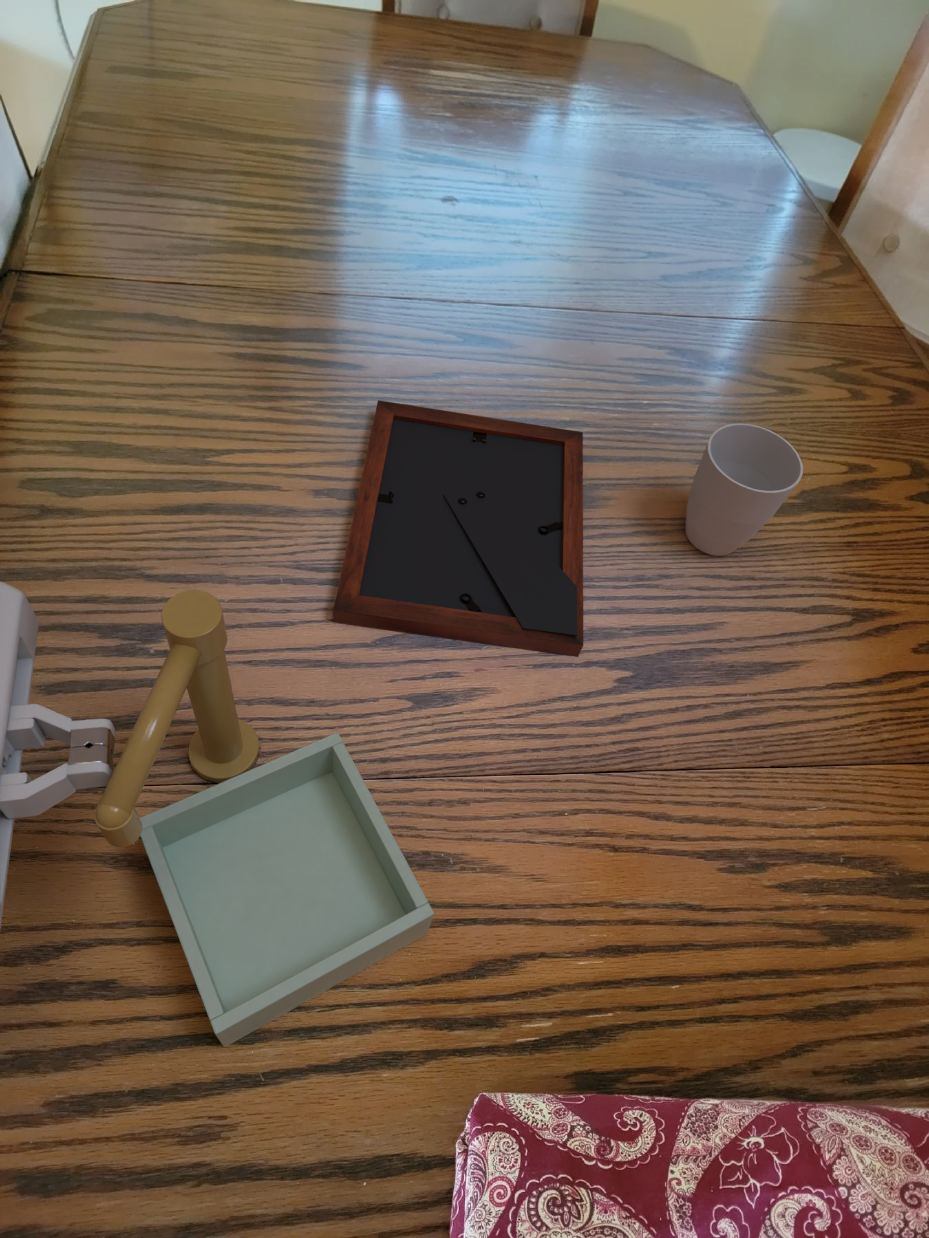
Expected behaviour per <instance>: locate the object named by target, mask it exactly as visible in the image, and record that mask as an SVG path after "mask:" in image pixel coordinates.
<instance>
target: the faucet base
mask: <svg viewBox="0 0 929 1238" xmlns="http://www.w3.org/2000/svg"><path fill="white" fill-rule="evenodd" d="M186 690H187V695H188V697H189V702H190V704H191V708H192V711H193V714H194V719H195V722H196V725H197V730H195V732H194V733H193V734H192V736H191V738H190V739H189V740H190V741H189V743H188V749H187V750H188V751H187V753H188V754H187V755H188V758H189V763H190V765H191V767H192V769H193V770H194V772H195V773H196V774H197V775H198V776H199V777H201V778H202V779H204V780H205V781H207V782H212V783H217V784H219V783H222V782H224V781H226V780H229V779H231V778H233V777H236V776H238V775H240V774H243V773H245V772H247V771H249V770H252V769H254V768H255V765H256V763H257V762H258V760H259V757H260V749H261V747H260V741H259V738H258V734H257V732H256V730H255V729H254V727H252V726H251V725H250V723H248V722H246V721H244V720H243V719H240V718H238V713H237V706H236V701H235V697H234V692H233V687H232V682H231V677H230V671H229V666H228V661H227V656H226V650H225V649H224V651H223V652H222V653H221V654H220V655H219V656H218V657H217V658H216V659H214V660H212V661H210V662H208V663H204V664H197V665H196V667H195V670H194V672H193V674H192V676H191V679H190V681H189V683H188V686H187V688H186Z"/></svg>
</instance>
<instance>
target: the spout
mask: <svg viewBox="0 0 929 1238" xmlns="http://www.w3.org/2000/svg"><path fill="white" fill-rule="evenodd" d="M160 618H161V622H162V628H163V631H164V633H165V638H166V640H167V644H168V648H169V651H168V653H167V655H166V657H165V659H164V661H163V664H162V666H161V668H160V670H159V672H158V675H157V676H156V678H155V681H154V682H153V685H152V688H151V689H150V692H149V694H148V696H147V698H146V701H145V702H144V704H143V707H142V708H141V711H140V714H139V716H138V718H137V719H136V722H135V724H134V726H133V728H132V730H131V732H130V735H129V736H128V738H127V742H126V744H125V745H124V748H123V750H122V752H121V754H120V756H119V758H118V761H117V762H116V765H115V767H114V768H113V774H112V776H111V778H110V780H109V782H108V784H107V786H105V789H104V791H103V792H102V795H101V797H100V800H99V801H98V804H97V805H96V807H95V809H94V813H93V819H94V823H95V824H96V825H97V827H98V829H99V830H100V832H101V833H102V835H103V837H104V839H105V840H106V842H107V843H108V844H109V845H111V846H112V847H114V848H125V847H128V846H131V845H133V844H134V843H136V842H137V841H138V840H139V838H141V836H140V835H141V833H142V822H141V820H140V818H141V817H140V815H139V814H138V812H137V809H136V808H135V807H136V805H137V803H138V801H139V798H140V796H141V793H142V791H143V789H144V787H145V784H146V782H147V780H148V777H149V775H150V773H151V770H152V768H153V766H154V763H155V761H156V759H157V756H158V755H159V752H160V750H161V747H162V745H163V743H164V740H165V738H166V736H167V734H168V732H169V729H170V727H171V725H172V722H173V720H174V718H175V716H176V713H177V712H178V708H179V707H180V705H181V702H182V700H183V697H184V696H185V692H186V690H187V686H188V683H189V681H190V679H191V676H192V674H193V672H194V670H195V667H196V665H197V664H204V663H208V662H210V661H212V660H214V659H216V658H217V657H218V656H219V655H220V654H221V653H222V652H223V651H224V650H225V649H226V647H227V645H228V633H227V628H226V622H225V617H224V612H223V607H222V604H221V601H220V600H219V599H217V597H215V596H214V595H213V594H212V593H210V592H207V591H205V590H199V589H190V590H185V591H181V592H178V593H177V594H175V595H173V596H172V597H170V598H168V600H167V601H166V602H165V604H163V606H162V610H161V614H160Z"/></svg>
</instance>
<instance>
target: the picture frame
mask: <svg viewBox="0 0 929 1238" xmlns="http://www.w3.org/2000/svg"><path fill="white" fill-rule="evenodd" d="M368 440H369V441H368V445H367V449H366V453H365V458H364V464H363V468H362V473H361V477H360V482H359V486H358V490H357V491H358V492H357V496H356V501H355V505H354V509H353V514H352V519H351V524H350V528H349V534H348V538H347V543H346V547H345V552H344V556H343V562H342V566H341V571H340V576H339V580H338V585H337V589H336V594H335V598H334V604H333V608H332V623H335V624H343V625H350V626H357V627H363V628H372V629H378V630H385V631H392V632H401V633H405V634H413V635H421V636H429V637H435V638H442V639H450V640H458V641H464V642H469V643H478V644H485V645H493V646H498V647H499V646H500V647H506V648H512V649H513V648H514V649H519V650H528V651H534V652H543V653H549V654H557V655H562V656H563V655H564V656H569V657H570V656H571V657H579V656H580V654H581V651H582V649H583V647H584V432H583V431H579V430H573V429H565V428H561V427H560V428H559V427H553V426H546V425H540V424H533V423H526V422H521V421H514V420H509V419H501V418H496V417H489V416H483V415H477V414H469V413H463V412H457V411H452V410H445V409H437V408H433V407H432V408H431V407H425V406H419V405H412V404H407V403H406V404H405V403H399V402H393V401H387V400H382V399H381V400H380V399H378V400H377V402H376V408H375V411H374V416H373V422H372V427H371V431H370V435H369V439H368Z"/></svg>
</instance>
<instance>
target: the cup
mask: <svg viewBox="0 0 929 1238" xmlns="http://www.w3.org/2000/svg"><path fill="white" fill-rule="evenodd" d="M803 473H804V466H803V462H802V459H801V457H800V455H799V453H798V451H797V450H796V449H795V448H794V446H793V445H792V444H791V443H790V442H788V440H787V439H785V438H784V437H783V436H781V435H779V433H776V432H774V431H772V430H770V429H768V428H765V427H762V426H758V425H755V424H751V423H741V422H740V423H730V424H725V425H723V426H721V427H719V428H717V429H716V430H714V431H713V432H712V433H711V435H710V437H709V439H708V442H707V443H706V446H705V449H704V452H703V453H702V457H701V459H700V462H699V464H698V466H697V469H696V472H695V474H694V477H693V481H692V485H691V487H690V492H689V495H688V496H689V497H688V501H687V504H686V513H685V535H686V537H687V539H688V541H689V543H690V544H691V545H692V546H693V547H694V548H696V549H697V550H699V551H700V552H701V553H705V554H707V555H711V556H716V557H717V556H718V557H722V556H723V557H724V556H727V555H730V554H732V553H733V552H735V551H736V550H738V549H739V548H740V547H742V546H743V545H745V544H746V543H747V542H749V541H751V540H752V538H753V537H754V536H755V535H756V534H757V533H758V532H760V531H761V529H762V528H763V527H764V526H765V525H766V524H767V523H768V522H769V521H770V520H771V519H772V518H773V517H774V516H775V515H776V514H777V512H778V510H779V509H780V508H781V507H782V506H783V504H784V503H785V501H787V499H788V497H789V496H790V494H791V493H792V492H793V490H794V489H795V488H796V486H797V485H798V484H799V482H800V481H801V480H802V477H803Z"/></svg>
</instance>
